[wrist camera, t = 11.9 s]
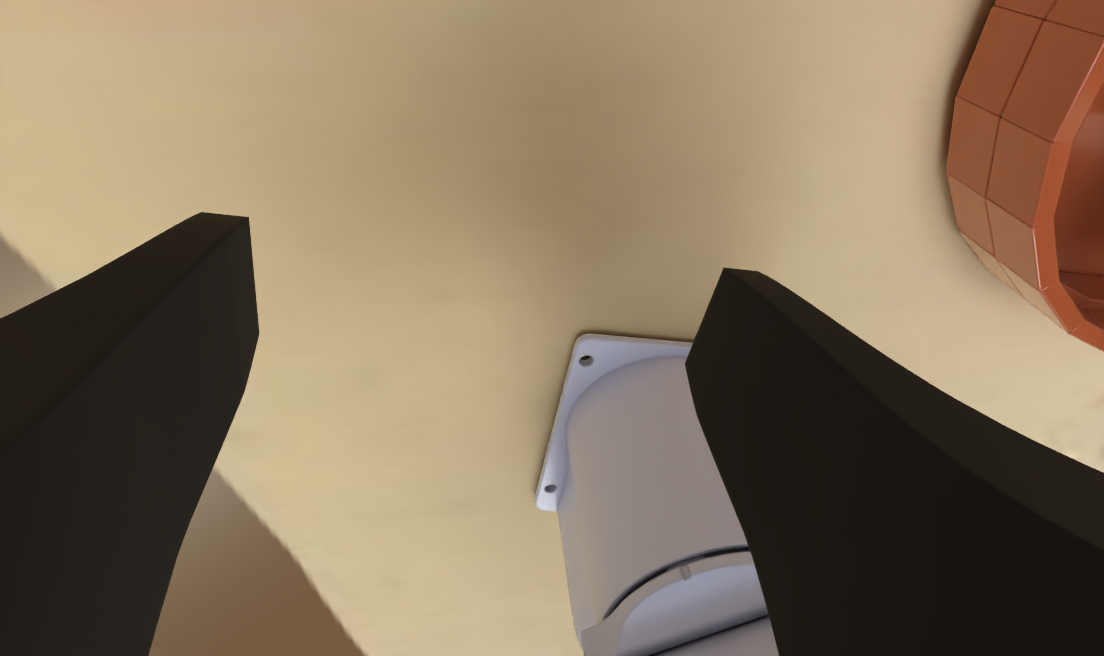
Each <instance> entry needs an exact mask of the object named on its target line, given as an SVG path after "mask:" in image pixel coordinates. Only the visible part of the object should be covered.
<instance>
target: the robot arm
mask: <svg viewBox="0 0 1104 656" xmlns="http://www.w3.org/2000/svg"><path fill="white" fill-rule="evenodd" d="M258 337H259V325H258V314H257V303H256V292H255V281H254V270H253V259H252V248H251V237H250V226H249V217H242V216H232V215H223V214H214V213H204V212H201V213H198V214H196V215H194V216H192V217H190V218H188V219H186V220H184V221H182V222H181V223H179V224H177V225H175V226H173V227H172V228H170V229H168V230H166V231H165V232H163V233H161V234H159V235H158V236H156V237H154V238H152V239H151V240H149V241H147V242H145V243H144V244H142V245H140V246H139V247H137V248H135V249H133V250H131V251H130V252H128V253H126V254H124V255H123V256H121V257H119V258H117V259H115V260H114V261H112V262H110V263H108V264H107V265H105V266H103V267H101V268H99V269H98V270H96V271H94V272H92V273H90V274H89V275H87V276H85V277H83V278H81V279H79V280H77V281H75V282H73V283H71V284H69V285H67V286H65V287H63V288H61V289H59V290H57V291H55V292H53V293H51V294H49V295H47V296H45V297H43V298H41V299H39V300H37V301H35V302H34V303H31V304H29V305H27V306H25V307H23V308H21V309H19V310H17V311H15V312H13V313H11V314H9V315H7V316H5V317H3V318H0V656H148V655H149V651H150V648H151V644H152V641H153V637H154V633H155V630H156V626H157V623H158V620H159V616H160V613H161V609H162V606H163V603H164V599H165V596H166V593H167V589H168V586H169V582H170V579H171V576H172V572H173V569H174V566H175V562H176V558H177V555H178V553H179V550H180V547H181V545H182V542H183V539H184V536H185V534H186V531H187V528H188V526H189V523H190V521H191V518H192V516H193V514H194V511H195V509H196V506H197V504H198V501H199V499H200V497H201V495H202V492H203V490H204V487H205V485H206V483H207V480H208V478H209V476H210V473H211V471H212V468H213V466H214V464H215V461H216V459H217V457H218V454H219V452H220V450H221V447H222V445H223V442H224V440H225V438H226V435H227V433H228V430H229V428H230V426H231V423H232V421H233V418H234V416H235V414H236V411H237V409H238V406H239V404H240V401H241V399H242V396H243V394H244V391H245V388H246V384H247V380H248V377H249V373H250V369H251V365H252V361H253V357H254V353H255V349H256V345H257V341H258ZM586 355H589V356H591V357H590V358H589V359H587V360H582V359H580V358H581V357H583V356H586ZM551 484H552V485H551ZM548 485H550V486H548ZM535 506H536V507H537V508H538V509H540V510H543V511H558V518H559V525H560V532H561V539H562V546H563V553H564V560H565V567H566V574H567V581H568V588H569V595H570V602H571V609H572V616H573V623H574V628H575V632H576V636H577V639H578V641H579V644H580V646H581V648H582V650H583V652H584V656H1104V473H1103V472H1100V471H1098V470H1096V469H1093V468H1091V467H1089V466H1087V465H1085V464H1082V463H1080V462H1078V461H1076V460H1074V459H1072V458H1070V457H1068V456H1065V455H1063V454H1061V453H1059V452H1057V451H1055V450H1053V449H1051V448H1048V447H1046V446H1044V445H1042V444H1040V443H1038V442H1036V441H1034V440H1032V439H1030V438H1028V437H1026V436H1024V435H1022V434H1020V433H1018V432H1016V431H1014V430H1012V429H1010V428H1008V427H1006V426H1004V425H1002V424H1000V423H998V422H997V421H995V420H993V419H991V418H989V417H988V416H986V415H984V414H982V413H980V412H978V411H977V410H975V409H973V408H971V407H969V406H967V405H966V404H964V403H962V402H960V401H958V400H956V399H955V398H953V397H951V396H950V395H948V394H946V393H945V392H943V391H941V390H939V389H938V388H936V387H934V386H933V385H931V384H930V383H928V382H926V381H925V380H923V379H922V378H920V377H919V376H917V375H915V374H914V373H912V372H911V371H909V370H907V369H906V368H904V367H903V366H901V365H900V364H898V363H896V362H895V361H893V360H892V359H890V358H889V357H887V356H886V355H884V354H883V353H881V352H880V351H878V350H877V349H875V348H874V347H872V346H871V345H869V344H868V343H866V342H865V341H863V340H862V339H860V338H859V337H858V336H856V335H855V334H853V333H852V332H850V331H849V330H847V329H846V328H845V327H843V326H842V325H840V324H839V323H837V322H836V321H834V320H833V319H832V318H830V317H829V316H827V315H826V314H824V313H823V312H822V311H820V310H819V309H817V308H816V307H814V306H813V305H811V304H810V303H809V302H807V301H806V300H804V299H803V298H801V297H800V296H798V295H797V294H795V293H794V292H792V291H791V290H789V289H788V288H786V287H785V286H783V285H781V284H780V283H778V282H777V281H775V280H773V279H771V278H770V277H768V276H766V275H764V274H762V273H760V272H758V271H750V270H740V269H731V268H723V271H722V273H721V276H720V278H719V281H718V283H717V286H716V288H715V290H714V293H713V295H712V298H711V300H710V303H709V305H708V308H707V310H706V313H705V315H704V317H703V320H702V322H701V325H700V327H699V330H698V332H697V335H696V337H695V340H694V342H693V343H690V342H679V341H668V340H657V339H646V338H635V337H624V336H613V335H602V334H584V335H582V336H580V337H579V338H578V339H577V340H576V342H575V344H574V348H573V352H572V355H571V359H570V363H569V367H568V371H567V375H566V379H565V382H564V386H563V390H562V394H561V398H560V402H559V405H558V409H557V413H556V417H555V421H554V425H553V428H552V432H551V436H550V440H549V444H548V448H547V451H546V455H545V459H544V463H543V467H542V471H541V474H540V478H539V482H538V486H537V490H536V494H535Z"/></svg>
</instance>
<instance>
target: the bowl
mask: <svg viewBox="0 0 1104 656" xmlns="http://www.w3.org/2000/svg"><path fill="white" fill-rule="evenodd" d="M994 5H995V6H993V7H992V8H991V10H990V13H989V15H988V18H987V20H986V23H985V25H984V28H983V30H982V33H981V35H980V38H979V40H978V43H977V45H976V48H975V50H974V53H973V55H972V58H971V60H970V63H969V65H968V68H967V70H966V73H965V75H964V78H963V80H962V83H961V85H960V88H959V90H958V93H957V95H958V96H956V98H955V105H954V113H953V120H952V127H951V135H950V142H949V150H948V157H947V165H946V171H947V177H948V182H949V187H950V192H951V197H952V202H953V207H954V212H955V217H956V221H957V226H958V231H959V232H960V233H961V235H962V236H963V237H964V239H965V240H966V242H967V243H968V244H969V246H970V247H971V248H972V250H973V251H974V252H975V254H976V255H977V257H978V258H979V259H980V261H981V262H982V263H983V265H984V266H985V267H986V269H987V270H988V271H990V272H991V273H992V274H994V275H995V276H996V277H997V278H999V279H1000V280H1001V281H1002V282H1004V283H1005V284H1006V285H1007V286H1009V287H1010V288H1011V289H1012V290H1014V291H1015V292H1016V293H1018V294H1019V295H1020V296H1021V297H1023V298H1024V299H1025V300H1027V301H1028V302H1029V303H1030V304H1031V305H1033V306H1034V307H1035V308H1036V309H1038V310H1039V311H1040V312H1042V313H1043V314H1044V315H1045V316H1047V317H1048V318H1049V319H1050V320H1052V321H1053V322H1054V323H1055V324H1057V325H1058V326H1059V327H1060V328H1062V329H1063V330H1064V331H1066V332H1067V333H1068V334H1070V335H1072V336H1074V337H1076V338H1078V339H1079V340H1081V341H1083V342H1085V343H1087V344H1089V345H1091V346H1093V347H1095V348H1097V349H1099V350H1101V351H1103V352H1104V0H996V1H995V3H994Z"/></svg>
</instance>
